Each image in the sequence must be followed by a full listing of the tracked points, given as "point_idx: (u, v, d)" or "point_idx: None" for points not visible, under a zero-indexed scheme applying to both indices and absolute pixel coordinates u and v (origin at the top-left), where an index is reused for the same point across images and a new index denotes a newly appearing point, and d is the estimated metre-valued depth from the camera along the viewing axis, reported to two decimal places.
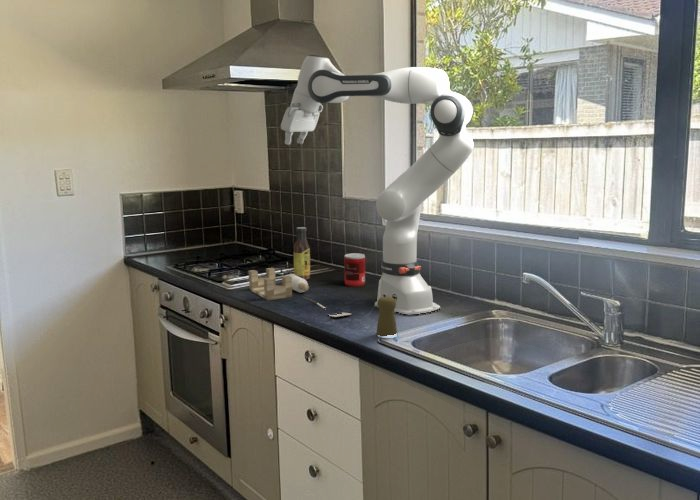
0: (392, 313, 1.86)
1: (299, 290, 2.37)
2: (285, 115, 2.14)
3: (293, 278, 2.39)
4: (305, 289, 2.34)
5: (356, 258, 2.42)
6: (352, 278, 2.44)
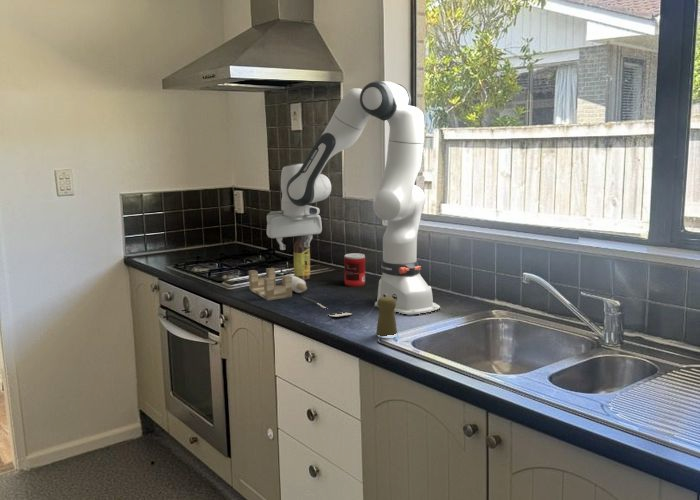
0: (392, 313, 1.86)
1: (298, 290, 2.37)
2: (267, 223, 2.33)
3: None
4: (304, 289, 2.34)
5: (356, 258, 2.42)
6: (352, 278, 2.44)
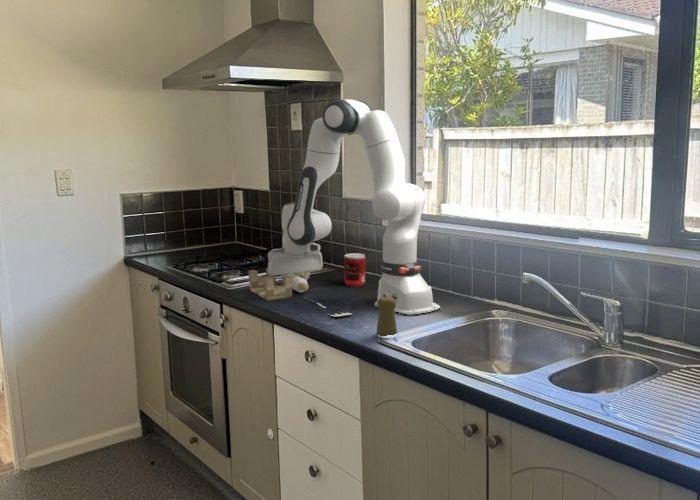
0: (392, 313, 1.86)
1: (299, 290, 2.37)
2: None
3: (293, 278, 2.39)
4: (305, 289, 2.34)
5: (356, 258, 2.42)
6: (352, 278, 2.44)
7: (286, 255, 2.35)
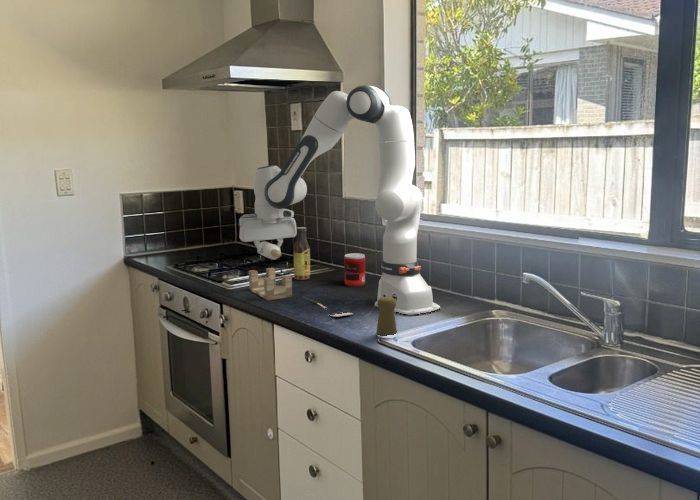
0: (392, 313, 1.86)
1: (272, 257, 2.30)
2: (240, 227, 2.28)
3: (265, 245, 2.32)
4: (277, 255, 2.27)
5: (356, 258, 2.42)
6: (352, 278, 2.44)
7: (258, 221, 2.28)
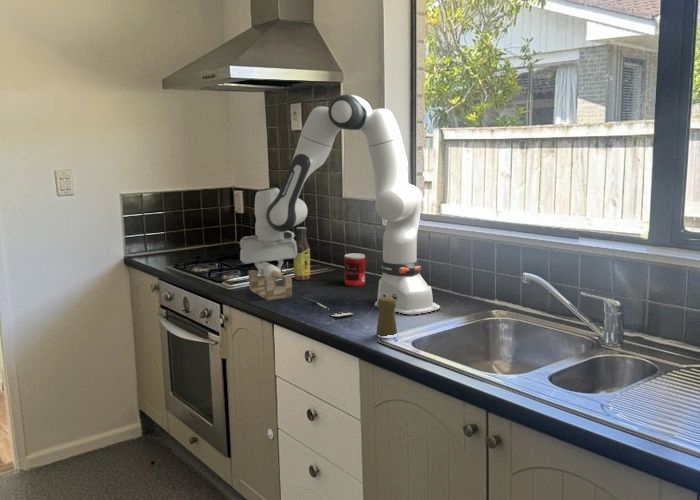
0: (392, 313, 1.86)
1: (272, 278, 2.31)
2: (241, 249, 2.30)
3: (266, 266, 2.33)
4: (278, 277, 2.28)
5: (356, 258, 2.42)
6: (352, 278, 2.44)
7: (259, 243, 2.29)
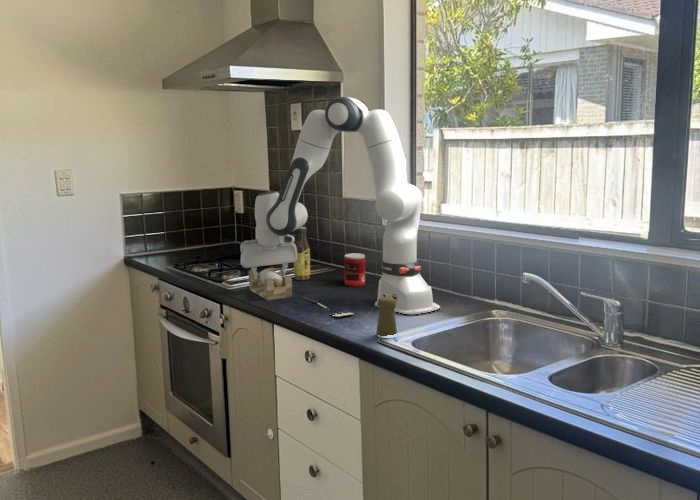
0: (392, 313, 1.86)
1: None
2: (241, 253, 2.30)
3: (268, 273, 2.34)
4: (279, 285, 2.29)
5: (356, 258, 2.42)
6: (352, 278, 2.44)
7: (259, 247, 2.30)
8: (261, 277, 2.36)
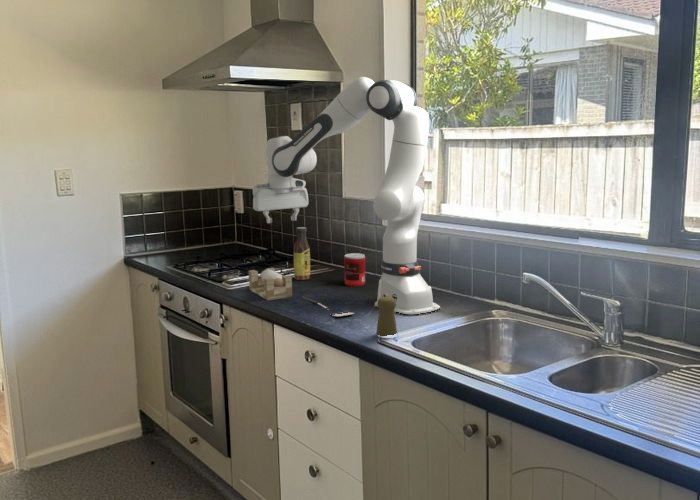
0: (392, 313, 1.86)
1: None
2: (253, 197, 2.33)
3: (274, 272, 2.35)
4: (280, 284, 2.29)
5: (356, 258, 2.42)
6: (352, 278, 2.44)
7: (271, 190, 2.33)
8: (264, 273, 2.37)
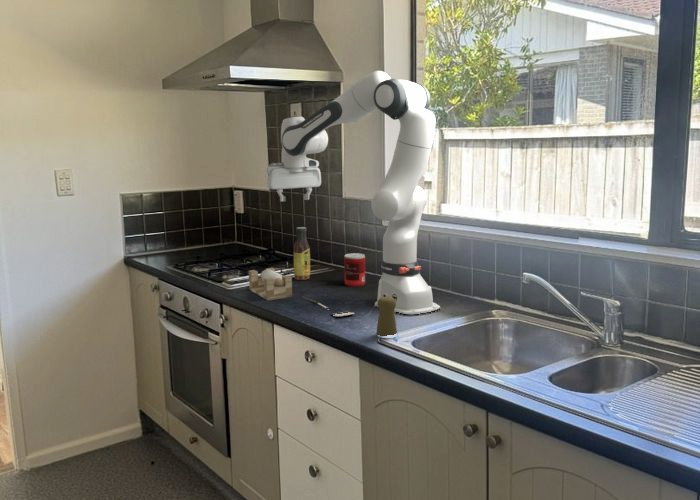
0: (392, 313, 1.86)
1: None
2: (268, 175, 2.39)
3: (274, 272, 2.35)
4: (280, 284, 2.29)
5: (356, 258, 2.42)
6: (352, 278, 2.44)
7: (285, 169, 2.38)
8: (265, 273, 2.37)
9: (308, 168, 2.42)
